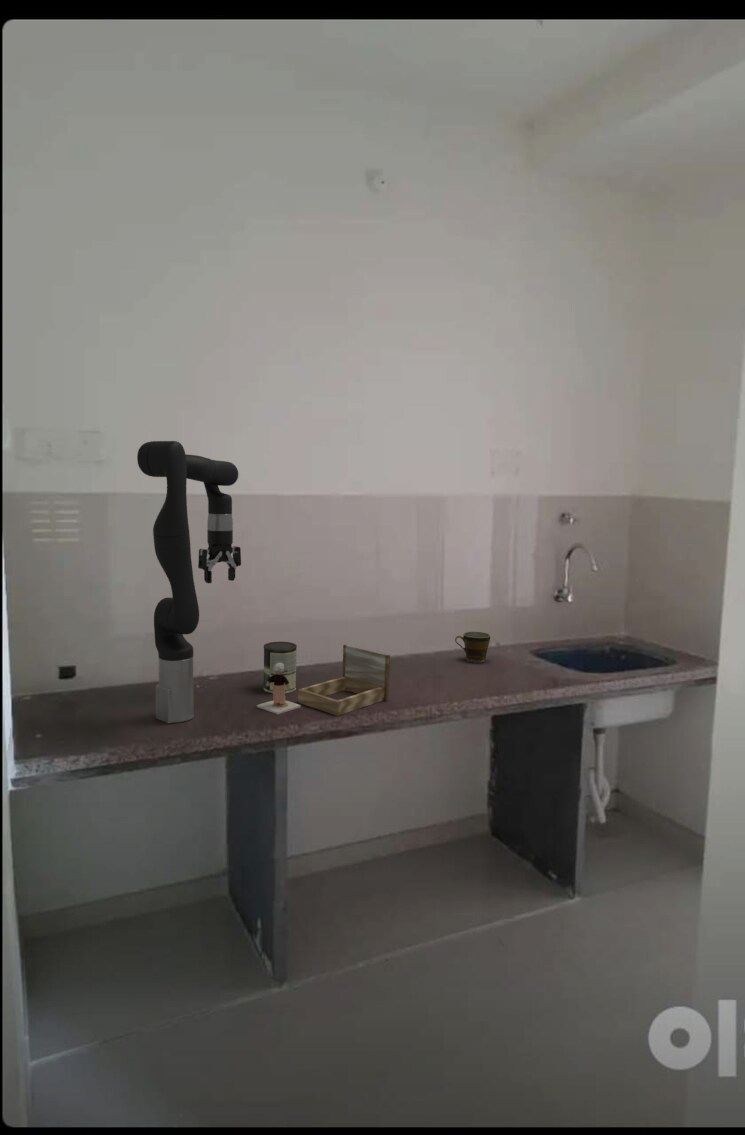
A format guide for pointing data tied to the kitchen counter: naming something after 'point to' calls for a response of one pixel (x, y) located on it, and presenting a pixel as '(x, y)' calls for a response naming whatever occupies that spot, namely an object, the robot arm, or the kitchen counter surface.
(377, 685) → the cold frame
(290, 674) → the coffee can
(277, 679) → the grandmother figurine
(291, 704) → the tile
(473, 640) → the ceramic cup
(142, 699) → the kitchen counter surface
